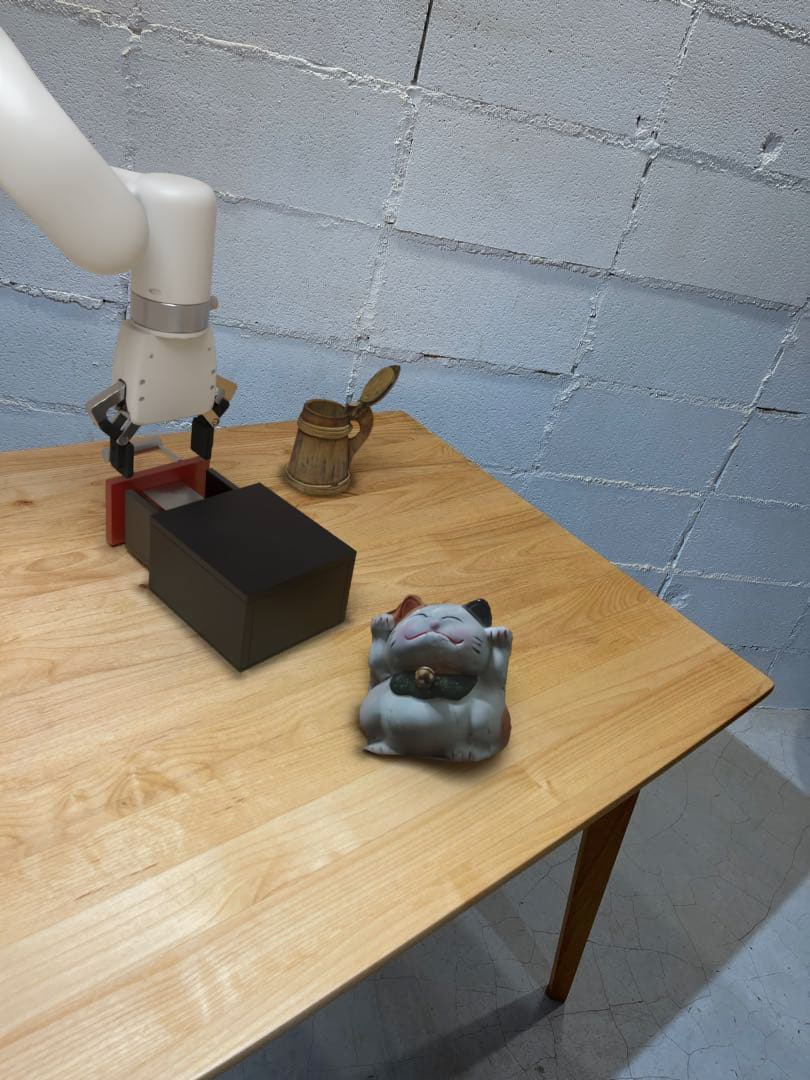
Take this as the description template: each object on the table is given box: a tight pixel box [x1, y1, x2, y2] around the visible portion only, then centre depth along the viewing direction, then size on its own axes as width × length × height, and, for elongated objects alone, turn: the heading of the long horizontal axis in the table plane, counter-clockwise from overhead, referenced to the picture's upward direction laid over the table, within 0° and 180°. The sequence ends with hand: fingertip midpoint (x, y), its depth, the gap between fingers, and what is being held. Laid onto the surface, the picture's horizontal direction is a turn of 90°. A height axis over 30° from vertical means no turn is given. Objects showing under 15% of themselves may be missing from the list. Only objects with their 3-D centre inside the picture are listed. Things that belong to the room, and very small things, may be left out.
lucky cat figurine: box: [358, 593, 514, 763], centre depth 75 cm, size 15×12×14 cm
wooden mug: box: [283, 364, 402, 496], centre depth 109 cm, size 9×14×18 cm, turn 103°
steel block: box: [142, 480, 204, 512], centre depth 91 cm, size 5×5×5 cm
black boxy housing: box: [148, 481, 358, 674], centre depth 84 cm, size 16×14×10 cm
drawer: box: [100, 435, 240, 569], centre depth 91 cm, size 20×13×8 cm, turn 47°
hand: (162, 463), depth 89 cm, fingers open, 9 cm apart
